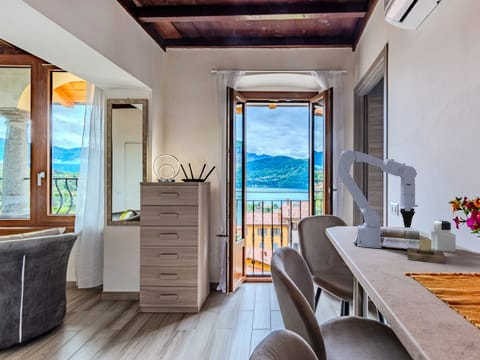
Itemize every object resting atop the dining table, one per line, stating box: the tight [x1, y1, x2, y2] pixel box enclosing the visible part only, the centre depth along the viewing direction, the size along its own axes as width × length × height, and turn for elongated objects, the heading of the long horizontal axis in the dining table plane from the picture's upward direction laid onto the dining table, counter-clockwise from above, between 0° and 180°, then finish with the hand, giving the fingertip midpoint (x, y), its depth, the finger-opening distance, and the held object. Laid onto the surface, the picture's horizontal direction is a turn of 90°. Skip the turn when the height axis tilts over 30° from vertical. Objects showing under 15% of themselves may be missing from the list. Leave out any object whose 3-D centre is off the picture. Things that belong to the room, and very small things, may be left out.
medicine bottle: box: [428, 220, 457, 253], centre depth 136 cm, size 7×7×12 cm
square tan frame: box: [406, 247, 447, 264], centre depth 124 cm, size 12×12×2 cm
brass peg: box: [418, 238, 432, 255], centre depth 123 cm, size 4×4×7 cm
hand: (407, 226), depth 139 cm, fingers open, 7 cm apart
